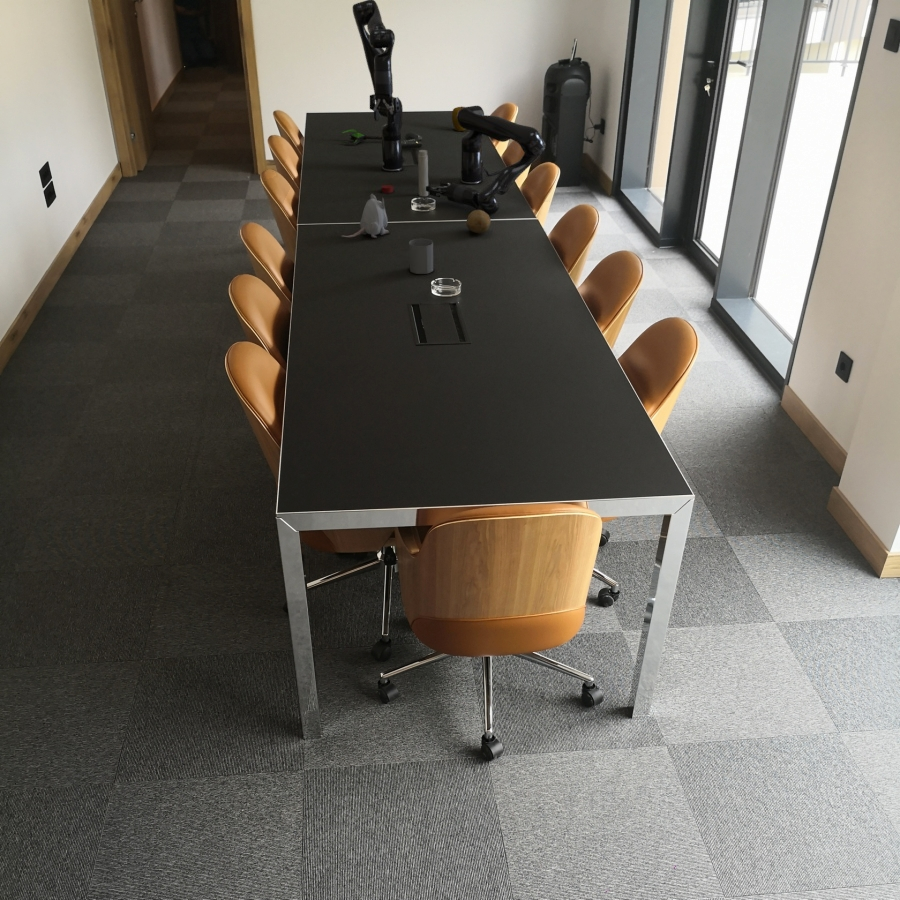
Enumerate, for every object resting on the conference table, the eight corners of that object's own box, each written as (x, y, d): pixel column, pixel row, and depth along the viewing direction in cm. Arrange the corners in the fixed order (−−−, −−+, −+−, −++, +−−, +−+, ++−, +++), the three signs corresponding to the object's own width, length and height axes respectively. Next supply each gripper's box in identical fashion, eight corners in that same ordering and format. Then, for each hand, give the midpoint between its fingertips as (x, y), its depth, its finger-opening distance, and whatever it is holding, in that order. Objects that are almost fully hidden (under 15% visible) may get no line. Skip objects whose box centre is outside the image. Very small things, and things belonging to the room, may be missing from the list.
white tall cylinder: (430, 194, 386) (429, 150, 376) (425, 196, 383) (425, 152, 373) (421, 193, 388) (420, 149, 378) (417, 195, 385) (416, 151, 374)
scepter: (396, 126, 467) (340, 124, 465) (396, 141, 460) (339, 139, 458) (396, 135, 472) (341, 133, 470) (396, 151, 465) (340, 148, 463)
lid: (381, 193, 388) (381, 188, 386) (381, 190, 392) (381, 185, 391) (393, 193, 388) (393, 188, 387) (392, 189, 392) (392, 184, 391)
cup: (409, 265, 311) (408, 238, 306) (432, 265, 312) (431, 238, 307) (410, 274, 304) (409, 246, 299) (433, 273, 305) (433, 246, 299)
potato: (488, 225, 349) (488, 206, 345) (492, 237, 337) (492, 217, 333) (464, 226, 348) (464, 206, 344) (467, 238, 337) (467, 217, 332)
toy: (394, 233, 341) (393, 195, 333) (349, 248, 327) (347, 208, 319) (379, 228, 347) (377, 190, 338) (334, 242, 332) (331, 203, 324)
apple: (471, 132, 486) (471, 108, 479) (451, 132, 486) (451, 108, 479) (470, 128, 495) (471, 104, 488) (452, 128, 495) (452, 104, 488)
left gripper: (364, 81, 366) (366, 121, 374) (392, 84, 359) (393, 125, 368) (375, 78, 371) (377, 118, 380) (402, 81, 365) (403, 122, 373)
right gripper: (448, 206, 366) (421, 198, 376) (471, 199, 374) (445, 191, 384) (447, 188, 362) (421, 181, 372) (471, 181, 370) (445, 174, 380)
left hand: (385, 121), depth 374 cm, fingers open, 8 cm apart
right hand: (433, 186), depth 378 cm, fingers open, 8 cm apart
